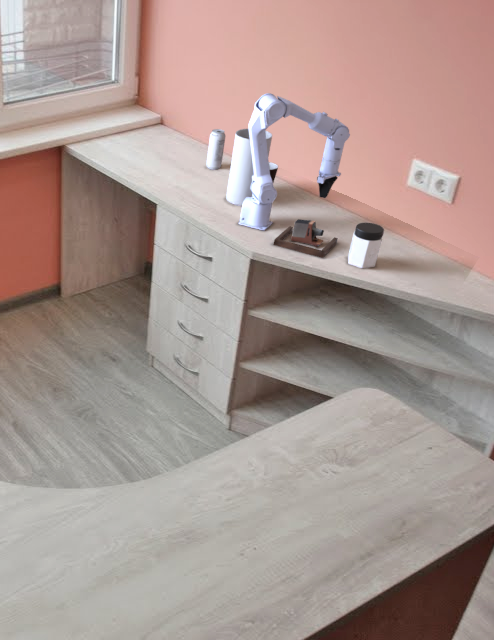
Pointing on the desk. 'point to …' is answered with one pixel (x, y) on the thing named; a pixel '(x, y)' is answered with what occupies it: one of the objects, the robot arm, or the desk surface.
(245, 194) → the cylinder vase
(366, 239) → the jar
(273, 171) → the coffee mug
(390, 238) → the desk surface
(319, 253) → the frame
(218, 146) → the energy drink can
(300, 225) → the electronic device
